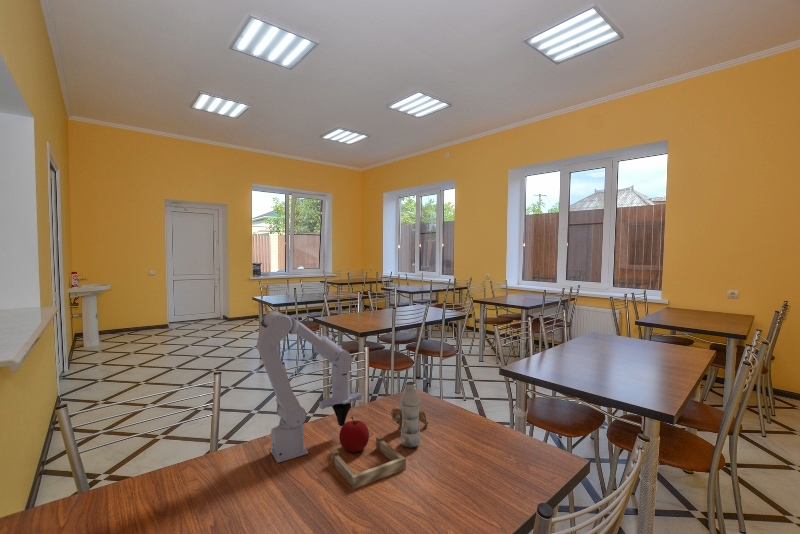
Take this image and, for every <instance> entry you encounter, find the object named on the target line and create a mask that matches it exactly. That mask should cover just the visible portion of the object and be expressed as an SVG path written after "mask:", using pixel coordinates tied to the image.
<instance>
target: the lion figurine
mask: <svg viewBox="0 0 800 534" xmlns="http://www.w3.org/2000/svg"><path fill="white" fill-rule="evenodd" d="M390 415H391V420H392V421H394V422H395V423H396V424H398V427H397V430H398V431H402V408H401V406H398V405H397V406H394V407H393V408H392V409H391V413H390ZM426 416H427V415H426V413H425V412H424V410H423V409H422V408H419V423H422V424H424V425H423V427H422V428H423V429H425V430H426V429H427V428H428V424H429V422H428V421H427V417H426Z"/></svg>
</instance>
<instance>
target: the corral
mask: <svg viewBox="0 0 800 534" xmlns="http://www.w3.org/2000/svg"><path fill="white" fill-rule="evenodd" d="M375 450H377V451H378V452H381V454H383V455H384V456H385V457H386V458H388V460H390V461H388V462H386V463H383V464H380V465H377V466H374V467H372V468H371V467H370V468H369V469H365V470H363V471H361V472H360V471H359V472H358V473H355V472H354V470H353V469H351V467H350V466H349V465H348V464H347V463H346V462H345V461H344V460H343V458H342V457H341V456H340V452H339V450H338V449H333V450H331V451H330V465H331V466H332V467H333V468H335V469H336V470H337V472H339V474H340V475H341V476H342V477H343V478H344V479H345V480H346V482H347V483H348V484H349V486H350V487H352V489H353V490H355V489H358V488H360V487H363V486H365V485H369V484H372V483H373V482H376V481H378V480H380V479H384V478H386V477H389V476H391V475H393V474H397V473H399V472H401V471H403V470H406V469H407V459H406V457H405V456H403V454H401V453H399V452H398V451H397V450H396V449H394V448H393V447H392V446H391V445H390V444H388V443H387V442H386V441H385V437H384V436H382V434H381V435H378V436H376V437H375Z"/></svg>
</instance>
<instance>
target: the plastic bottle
mask: <svg viewBox="0 0 800 534" xmlns="http://www.w3.org/2000/svg"><path fill="white" fill-rule="evenodd" d="M420 406H421V397H420V395H419V393H418V392H417V383H416V382H415V381H412V380H411V381H409V380H408V381H406V382H404V392H403V393H402V394H401V396H400V407H401V408H402V428H401V430H400V441H401V442H400V443H401V444H402V445H403V446H404V447H406V448H416V447H418V446H419V444H420V443H421V440H422V439H421V438H422V437H421V431H420V421H419V409H421V408H420Z"/></svg>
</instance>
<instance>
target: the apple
mask: <svg viewBox="0 0 800 534" xmlns="http://www.w3.org/2000/svg"><path fill="white" fill-rule="evenodd" d="M351 419H352V420H350V421H347V422H346V421H345V424H344V425H343V426H341V428H340V431H339V435H338V437H339V442H340V445H341V447H342V448H343V449H344V450H345V451H348V452H349V453H355V452H356V453H357V452H358V453H359V452H361V451H362V450H364V449H365V448H366V446H367V445H368V443H369V438H370V431H369V430H370V429H369V428H368V426H367V424H366V423H365V422H364V421H363V420H362V421H361V420H358V419H357V420H354V417H353V416H351Z"/></svg>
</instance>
